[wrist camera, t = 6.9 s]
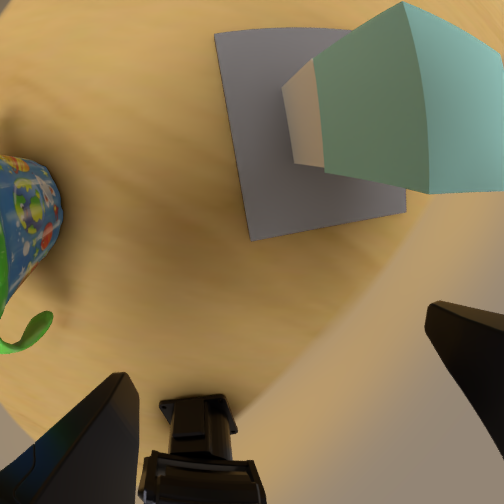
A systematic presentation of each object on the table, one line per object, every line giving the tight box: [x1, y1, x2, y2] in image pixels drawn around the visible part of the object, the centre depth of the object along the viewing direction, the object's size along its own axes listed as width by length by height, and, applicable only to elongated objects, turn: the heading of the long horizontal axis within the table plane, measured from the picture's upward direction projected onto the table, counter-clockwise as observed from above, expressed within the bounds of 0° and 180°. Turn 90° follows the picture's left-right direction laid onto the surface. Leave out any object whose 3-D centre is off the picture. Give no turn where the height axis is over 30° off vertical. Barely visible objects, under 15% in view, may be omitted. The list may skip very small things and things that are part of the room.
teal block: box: [313, 1, 504, 194], centre depth 8 cm, size 5×5×6 cm
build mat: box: [214, 28, 406, 241], centre depth 17 cm, size 14×12×1 cm
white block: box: [281, 59, 324, 168], centre depth 13 cm, size 5×5×6 cm
